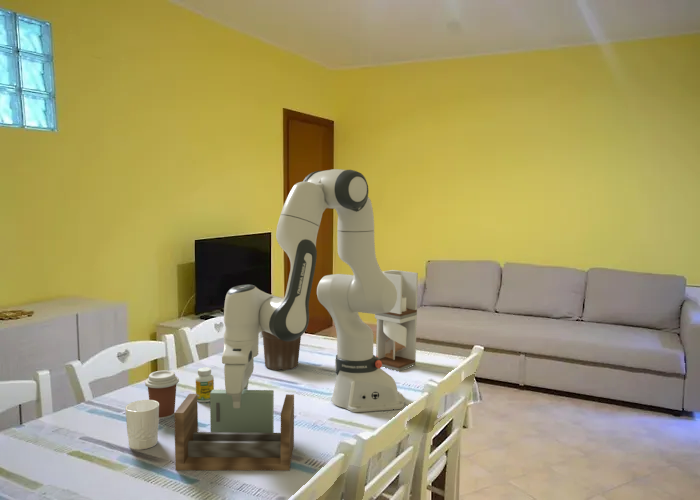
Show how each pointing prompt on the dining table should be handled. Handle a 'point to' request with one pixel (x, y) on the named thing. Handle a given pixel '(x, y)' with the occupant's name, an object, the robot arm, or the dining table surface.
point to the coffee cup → (163, 391)
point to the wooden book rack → (231, 443)
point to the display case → (399, 323)
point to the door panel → (242, 412)
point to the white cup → (142, 423)
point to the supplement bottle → (204, 384)
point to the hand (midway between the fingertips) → (240, 400)
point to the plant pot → (280, 352)
